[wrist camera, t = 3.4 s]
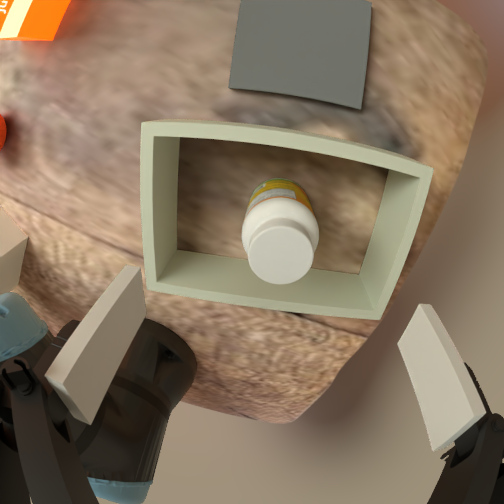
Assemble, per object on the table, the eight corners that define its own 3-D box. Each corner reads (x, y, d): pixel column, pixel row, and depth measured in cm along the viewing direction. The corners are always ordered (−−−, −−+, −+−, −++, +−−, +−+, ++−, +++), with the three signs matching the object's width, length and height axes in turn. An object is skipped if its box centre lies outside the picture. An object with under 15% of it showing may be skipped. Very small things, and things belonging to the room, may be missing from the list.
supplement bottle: (308, 231, 26) (323, 293, 18) (251, 233, 27) (240, 295, 18) (308, 175, 24) (327, 213, 15) (247, 178, 24) (231, 217, 16)
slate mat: (358, 109, 20) (360, 109, 20) (229, 88, 20) (228, 87, 20) (368, 5, 15) (371, 2, 14) (245, -17, 15) (244, -20, 15)
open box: (364, 283, 28) (379, 319, 23) (168, 256, 29) (147, 289, 23) (401, 154, 22) (433, 168, 16) (171, 118, 22) (141, 122, 17)
